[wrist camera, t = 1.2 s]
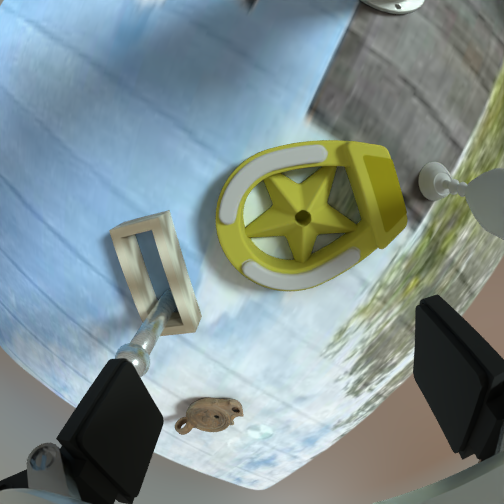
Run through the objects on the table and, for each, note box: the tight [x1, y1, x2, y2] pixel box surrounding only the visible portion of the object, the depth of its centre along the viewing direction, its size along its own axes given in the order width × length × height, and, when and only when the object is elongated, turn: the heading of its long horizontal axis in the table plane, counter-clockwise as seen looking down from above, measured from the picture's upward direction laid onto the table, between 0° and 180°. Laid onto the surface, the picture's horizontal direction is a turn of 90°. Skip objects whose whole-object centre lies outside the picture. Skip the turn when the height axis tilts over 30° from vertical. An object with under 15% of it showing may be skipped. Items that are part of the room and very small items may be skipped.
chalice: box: [419, 162, 504, 240], centre depth 24 cm, size 7×7×18 cm
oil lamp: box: [175, 398, 243, 435], centre depth 45 cm, size 13×8×5 cm, turn 116°
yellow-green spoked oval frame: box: [216, 140, 407, 291], centre depth 33 cm, size 16×21×5 cm
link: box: [109, 210, 202, 336], centre depth 37 cm, size 15×7×4 cm, turn 12°
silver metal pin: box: [115, 290, 177, 377], centre depth 33 cm, size 4×4×16 cm
